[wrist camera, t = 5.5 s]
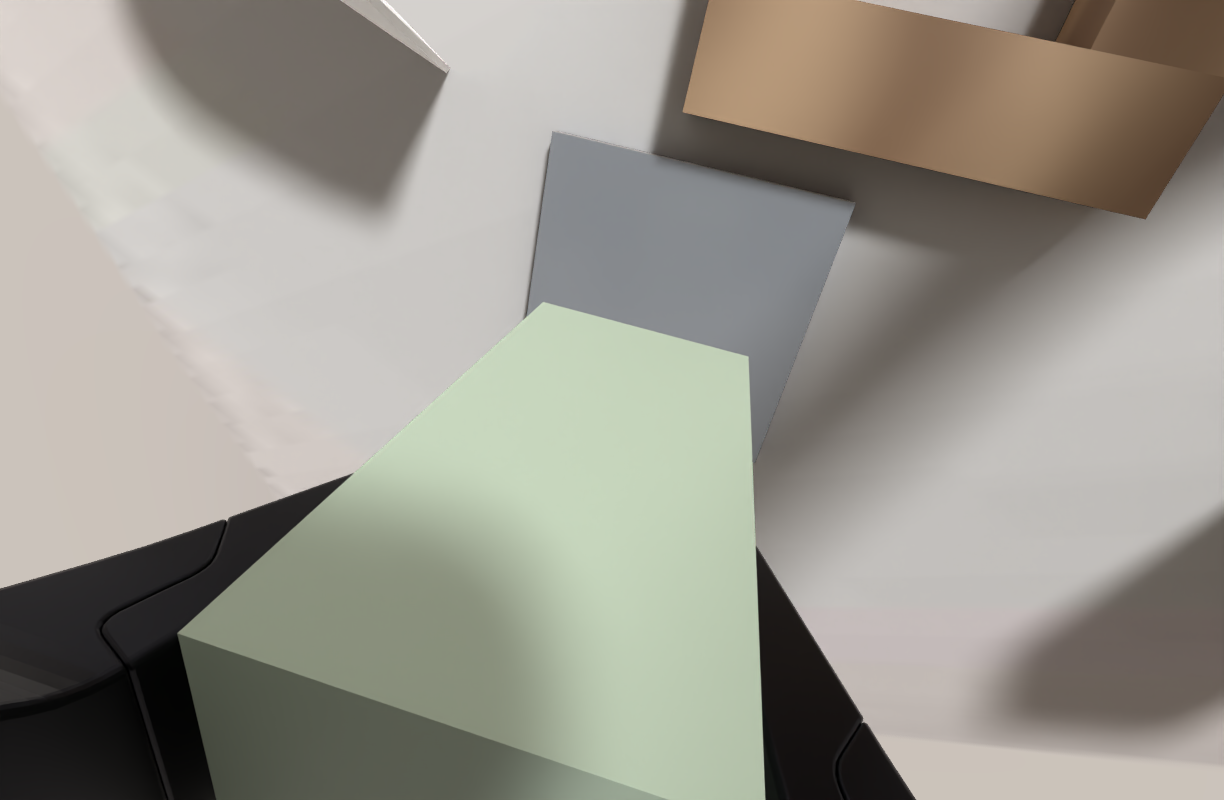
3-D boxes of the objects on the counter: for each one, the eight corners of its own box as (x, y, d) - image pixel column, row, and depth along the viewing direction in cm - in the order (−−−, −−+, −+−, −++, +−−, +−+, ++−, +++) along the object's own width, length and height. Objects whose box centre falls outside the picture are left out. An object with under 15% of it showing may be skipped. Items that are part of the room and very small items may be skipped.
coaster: (852, 201, 17) (855, 203, 16) (754, 454, 21) (754, 463, 20) (558, 131, 17) (552, 131, 17) (521, 388, 21) (515, 395, 21)
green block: (748, 356, 10) (765, 833, 3) (691, 521, 12) (626, 1050, 5) (543, 301, 11) (176, 634, 4) (517, 470, 13) (239, 903, 6)
